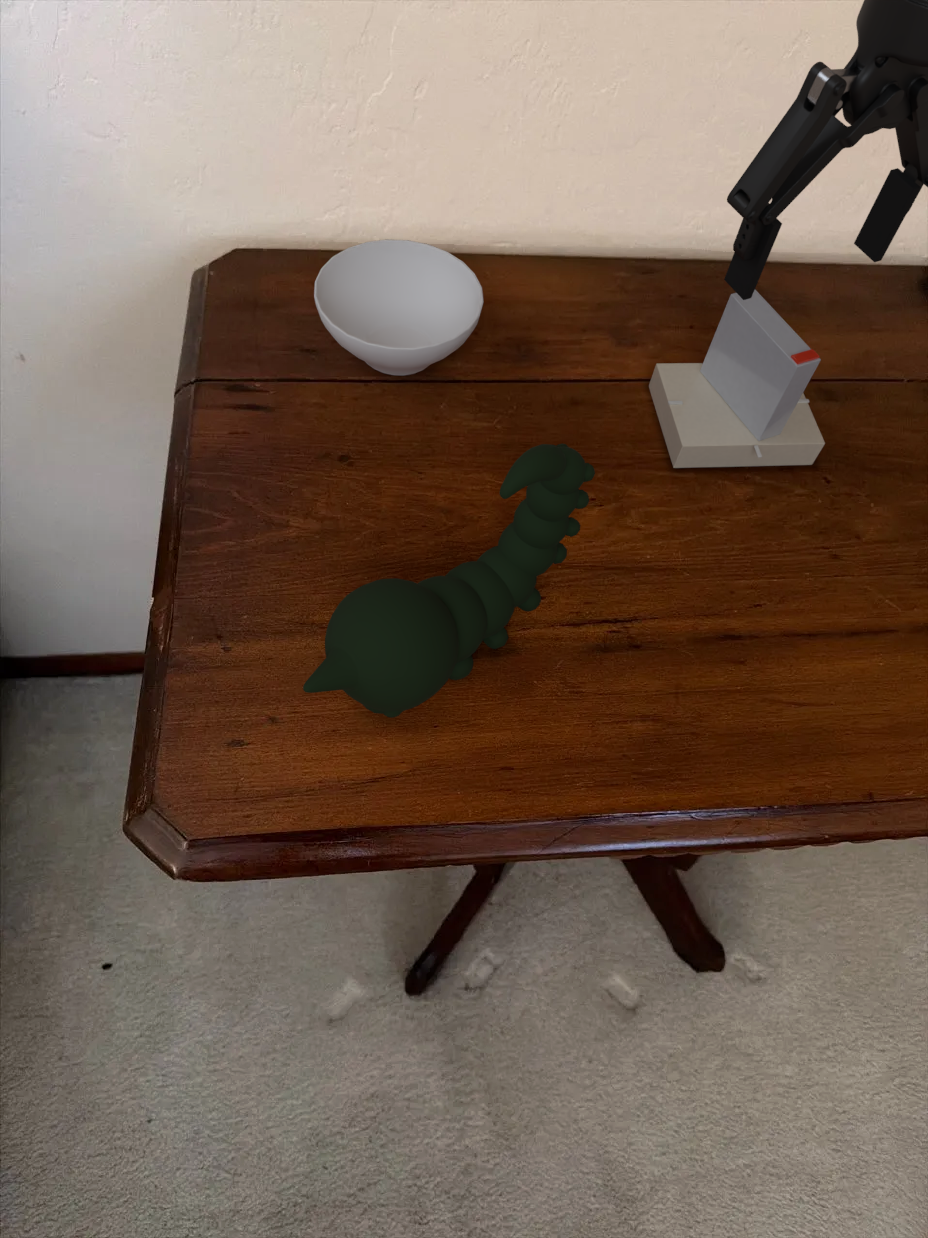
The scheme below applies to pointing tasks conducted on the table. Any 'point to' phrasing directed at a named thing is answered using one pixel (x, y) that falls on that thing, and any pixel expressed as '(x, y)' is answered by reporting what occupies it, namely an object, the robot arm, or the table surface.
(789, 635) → the table surface
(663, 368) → the base
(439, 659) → the toy figurine
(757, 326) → the leaning grey slab
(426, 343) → the bowl
